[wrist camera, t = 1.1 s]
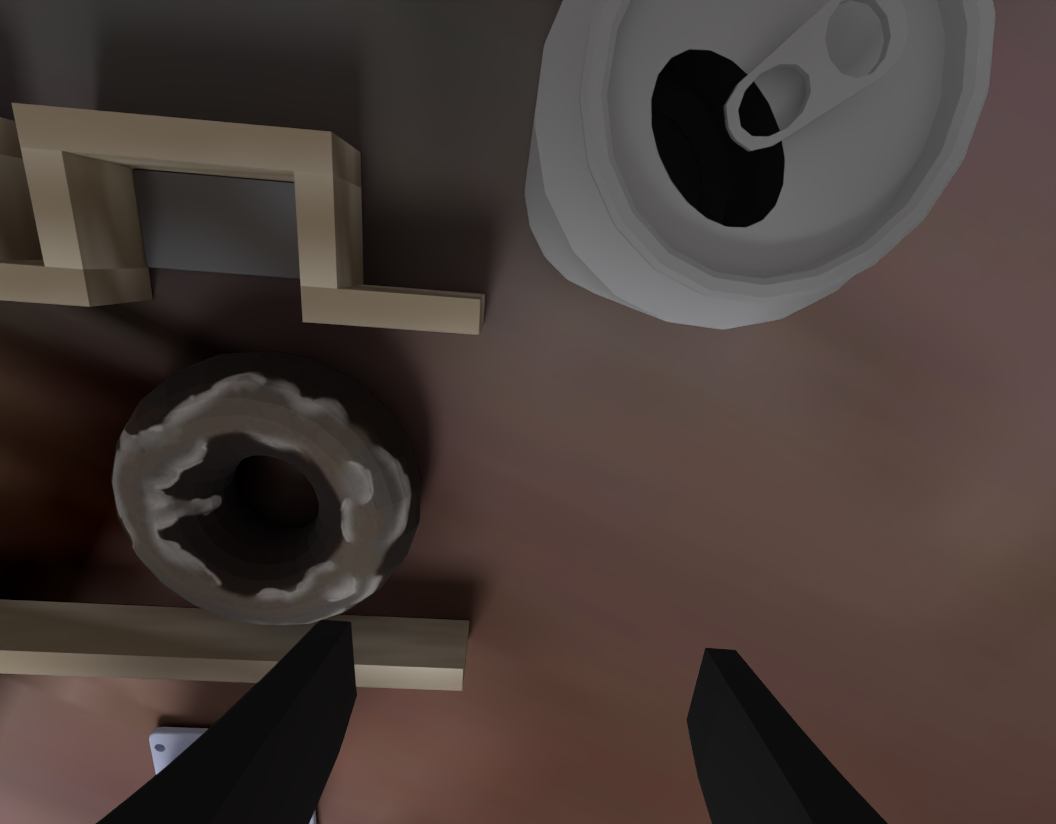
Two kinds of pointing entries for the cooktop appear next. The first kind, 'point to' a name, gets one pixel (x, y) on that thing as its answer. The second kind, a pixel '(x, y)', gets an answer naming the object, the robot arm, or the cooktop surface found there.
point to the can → (746, 144)
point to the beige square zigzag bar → (123, 276)
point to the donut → (224, 518)
